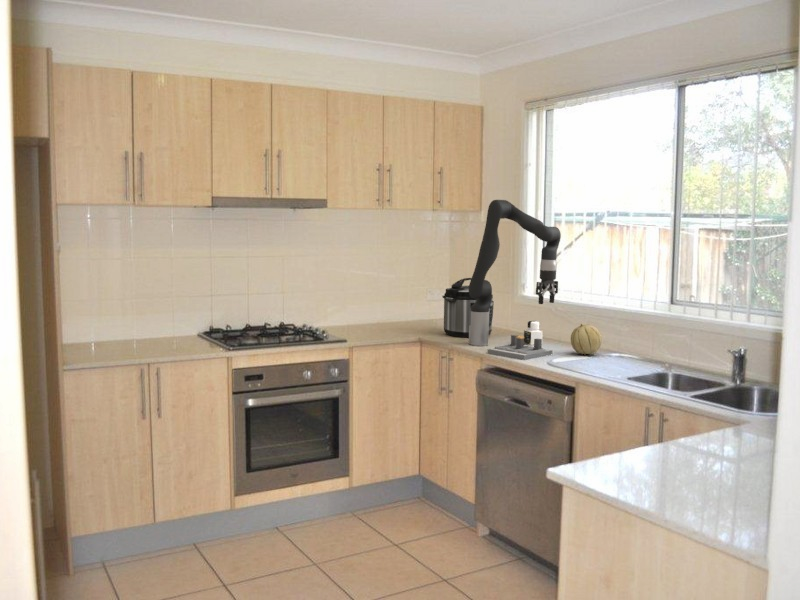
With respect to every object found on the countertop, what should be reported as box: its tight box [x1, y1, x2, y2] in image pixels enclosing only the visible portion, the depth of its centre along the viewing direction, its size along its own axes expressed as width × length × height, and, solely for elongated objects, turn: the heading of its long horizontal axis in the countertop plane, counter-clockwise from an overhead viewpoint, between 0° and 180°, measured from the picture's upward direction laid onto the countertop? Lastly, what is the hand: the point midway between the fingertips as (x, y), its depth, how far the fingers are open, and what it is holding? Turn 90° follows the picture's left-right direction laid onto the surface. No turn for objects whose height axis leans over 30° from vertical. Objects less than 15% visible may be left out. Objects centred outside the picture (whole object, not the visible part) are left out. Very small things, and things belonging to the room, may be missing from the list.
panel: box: [486, 343, 553, 361], centre depth 362 cm, size 22×22×3 cm
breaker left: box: [509, 334, 519, 346], centre depth 370 cm, size 3×3×6 cm
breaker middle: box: [516, 335, 525, 349], centre depth 362 cm, size 3×3×6 cm
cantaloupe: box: [570, 323, 603, 356], centre depth 363 cm, size 15×15×15 cm
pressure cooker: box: [441, 277, 494, 338], centre depth 419 cm, size 30×28×32 cm
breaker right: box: [533, 338, 543, 351], centre depth 360 cm, size 3×3×6 cm
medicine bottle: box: [523, 320, 544, 346], centre depth 392 cm, size 7×7×12 cm
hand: (546, 303), depth 357 cm, fingers open, 8 cm apart
